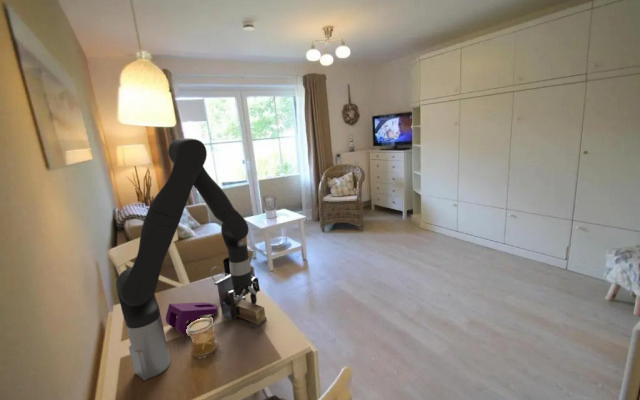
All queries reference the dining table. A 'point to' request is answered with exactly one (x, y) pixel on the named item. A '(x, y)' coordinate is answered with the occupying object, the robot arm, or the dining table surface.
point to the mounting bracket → (188, 314)
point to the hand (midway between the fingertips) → (246, 308)
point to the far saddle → (256, 324)
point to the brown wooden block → (251, 312)
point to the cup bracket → (223, 287)
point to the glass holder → (226, 268)
